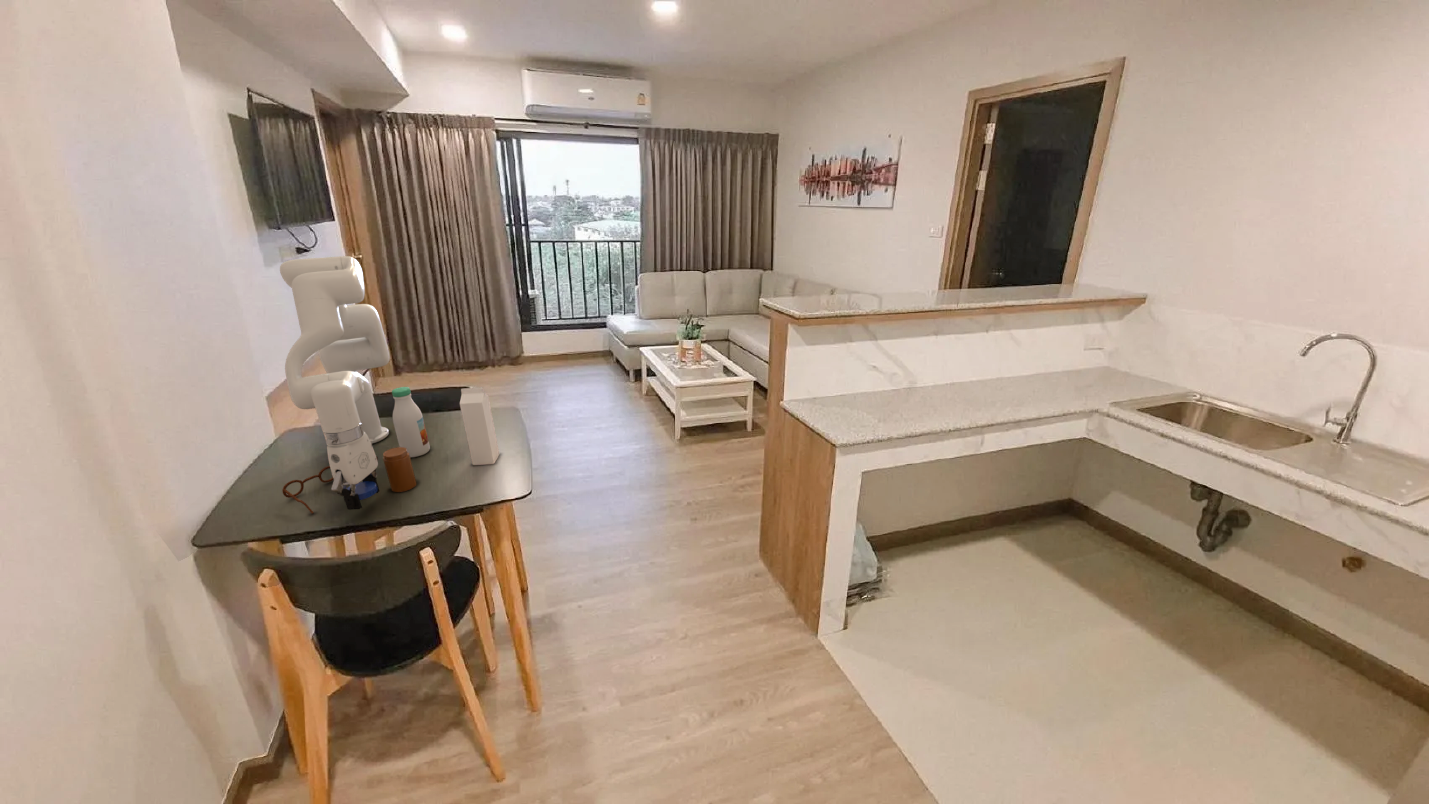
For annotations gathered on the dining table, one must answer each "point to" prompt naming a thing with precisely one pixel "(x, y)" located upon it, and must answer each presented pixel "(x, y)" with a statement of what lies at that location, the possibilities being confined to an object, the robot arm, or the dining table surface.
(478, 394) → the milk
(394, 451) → the jar
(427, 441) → the milk bottle
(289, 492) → the glasses
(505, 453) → the dining table surface
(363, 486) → the lid
